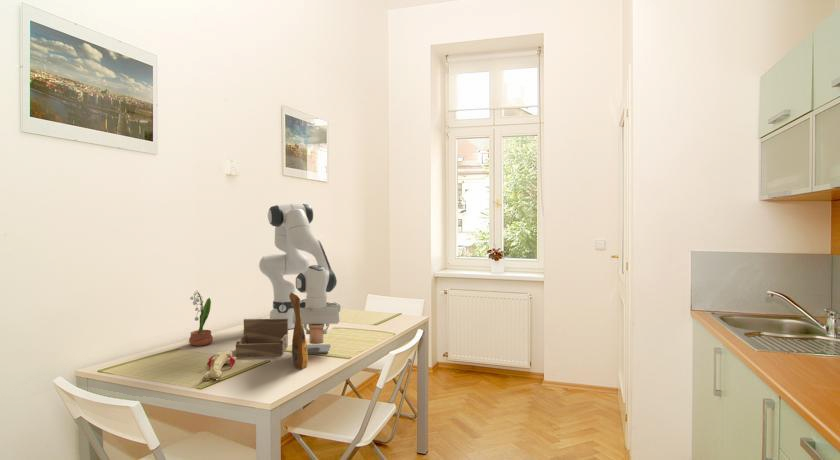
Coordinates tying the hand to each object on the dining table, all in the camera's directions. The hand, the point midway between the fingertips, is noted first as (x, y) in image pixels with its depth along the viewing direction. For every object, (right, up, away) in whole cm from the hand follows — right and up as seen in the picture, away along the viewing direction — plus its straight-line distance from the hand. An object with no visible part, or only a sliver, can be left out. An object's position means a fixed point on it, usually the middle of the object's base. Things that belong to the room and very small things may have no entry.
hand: (316, 333), depth 206 cm
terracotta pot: (0, -4, 0) cm, 4 cm away
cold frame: (-23, -7, -2) cm, 24 cm away
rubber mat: (0, -7, 0) cm, 7 cm away
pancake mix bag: (-3, -8, -19) cm, 21 cm away
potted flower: (-55, -7, +8) cm, 56 cm away
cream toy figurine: (-30, -8, -28) cm, 42 cm away
